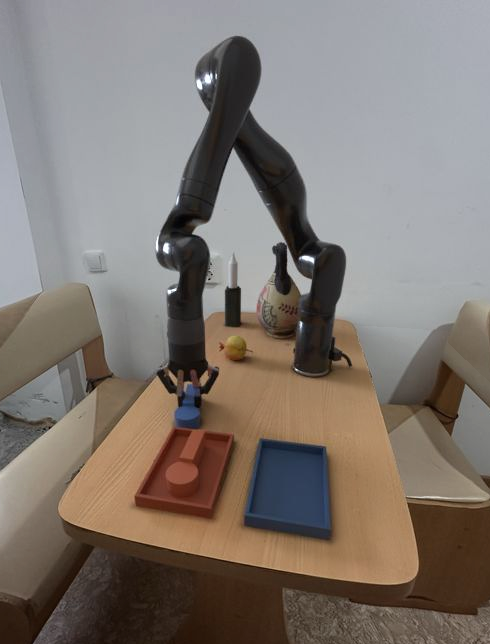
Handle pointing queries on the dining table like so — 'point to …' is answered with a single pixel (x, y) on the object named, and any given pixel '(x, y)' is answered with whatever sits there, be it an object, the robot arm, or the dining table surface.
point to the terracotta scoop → (187, 467)
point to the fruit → (234, 348)
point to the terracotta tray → (209, 475)
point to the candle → (233, 296)
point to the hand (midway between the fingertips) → (190, 408)
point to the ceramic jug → (279, 299)
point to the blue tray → (290, 489)
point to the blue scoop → (188, 411)
